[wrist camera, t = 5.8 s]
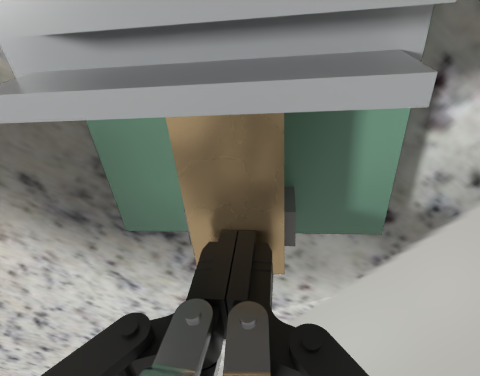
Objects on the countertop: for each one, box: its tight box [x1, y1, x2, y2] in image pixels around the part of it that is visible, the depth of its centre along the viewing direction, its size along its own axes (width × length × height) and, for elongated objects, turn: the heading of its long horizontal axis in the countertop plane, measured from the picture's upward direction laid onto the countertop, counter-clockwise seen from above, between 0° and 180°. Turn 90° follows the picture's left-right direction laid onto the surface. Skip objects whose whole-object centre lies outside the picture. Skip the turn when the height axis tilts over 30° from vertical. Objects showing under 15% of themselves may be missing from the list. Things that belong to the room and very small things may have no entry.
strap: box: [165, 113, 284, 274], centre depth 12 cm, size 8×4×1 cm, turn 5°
